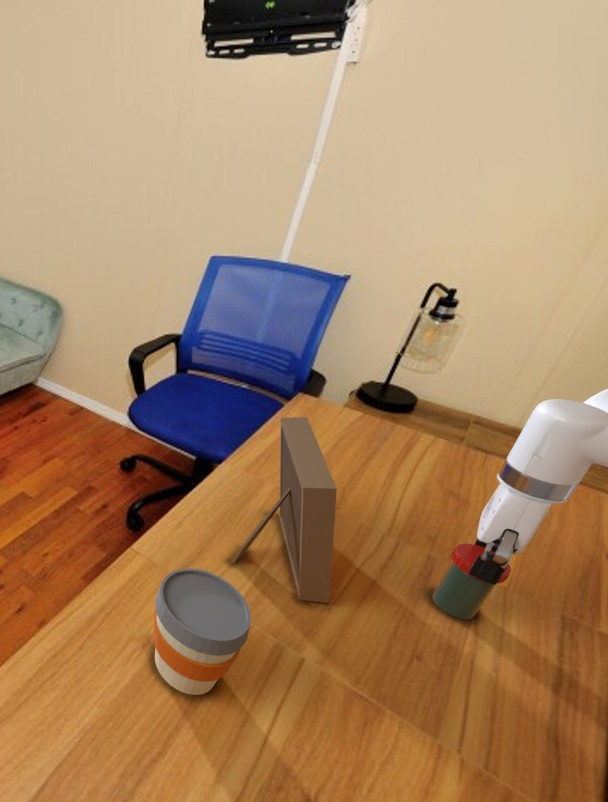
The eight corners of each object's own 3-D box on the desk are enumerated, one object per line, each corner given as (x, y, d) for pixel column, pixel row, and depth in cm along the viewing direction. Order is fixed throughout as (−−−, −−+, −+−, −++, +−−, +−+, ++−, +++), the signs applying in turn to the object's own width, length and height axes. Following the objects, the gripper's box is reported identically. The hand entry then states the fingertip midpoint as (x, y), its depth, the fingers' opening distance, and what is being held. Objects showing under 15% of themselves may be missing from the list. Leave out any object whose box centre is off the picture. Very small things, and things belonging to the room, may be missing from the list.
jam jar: (470, 600, 89) (498, 557, 84) (477, 625, 84) (508, 581, 79) (429, 587, 91) (455, 544, 86) (435, 610, 87) (462, 567, 82)
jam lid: (484, 587, 80) (490, 579, 79) (440, 555, 86) (445, 547, 85) (517, 579, 81) (523, 570, 80) (471, 547, 87) (476, 539, 86)
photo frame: (302, 521, 106) (341, 422, 94) (327, 606, 88) (379, 496, 76) (225, 505, 111) (253, 409, 99) (234, 583, 93) (270, 476, 81)
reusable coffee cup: (134, 628, 85) (147, 566, 78) (209, 630, 84) (229, 567, 77) (156, 706, 74) (174, 642, 67) (243, 708, 73) (270, 643, 66)
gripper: (505, 444, 82) (460, 525, 90) (495, 496, 72) (446, 581, 80) (573, 463, 77) (519, 547, 86) (573, 522, 67) (512, 610, 75)
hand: (484, 563), depth 83 cm, fingers open, 7 cm apart
